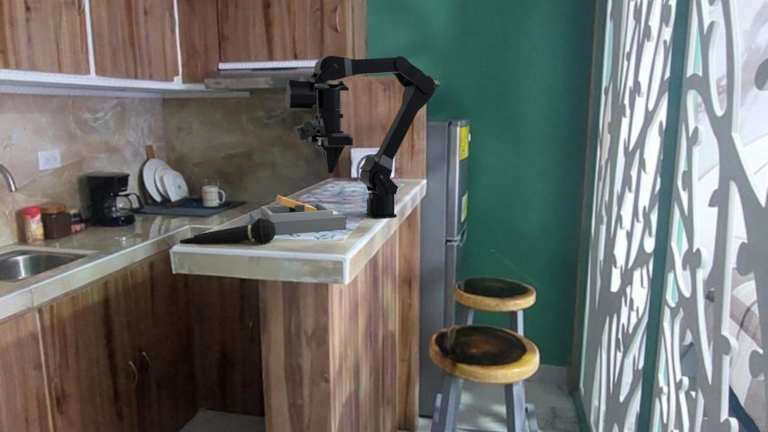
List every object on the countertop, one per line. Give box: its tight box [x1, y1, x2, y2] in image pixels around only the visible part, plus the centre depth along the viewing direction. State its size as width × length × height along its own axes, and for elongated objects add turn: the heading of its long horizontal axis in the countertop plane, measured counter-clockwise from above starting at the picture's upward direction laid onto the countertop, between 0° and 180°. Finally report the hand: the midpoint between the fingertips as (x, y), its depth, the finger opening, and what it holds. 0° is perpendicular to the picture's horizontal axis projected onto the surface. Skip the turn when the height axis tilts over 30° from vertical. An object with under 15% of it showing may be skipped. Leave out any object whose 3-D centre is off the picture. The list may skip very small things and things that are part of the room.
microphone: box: [179, 218, 277, 245], centre depth 109 cm, size 6×6×20 cm
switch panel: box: [248, 199, 347, 236], centre depth 124 cm, size 20×14×6 cm
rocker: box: [275, 194, 317, 212], centre depth 124 cm, size 9×5×2 cm, turn 113°
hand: (330, 173), depth 131 cm, fingers closed
